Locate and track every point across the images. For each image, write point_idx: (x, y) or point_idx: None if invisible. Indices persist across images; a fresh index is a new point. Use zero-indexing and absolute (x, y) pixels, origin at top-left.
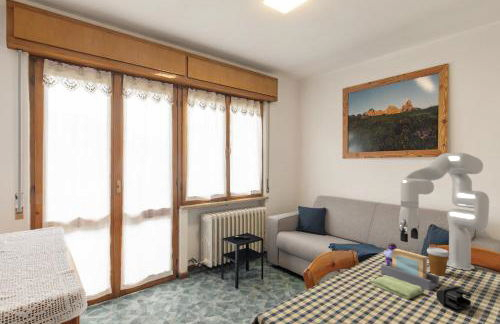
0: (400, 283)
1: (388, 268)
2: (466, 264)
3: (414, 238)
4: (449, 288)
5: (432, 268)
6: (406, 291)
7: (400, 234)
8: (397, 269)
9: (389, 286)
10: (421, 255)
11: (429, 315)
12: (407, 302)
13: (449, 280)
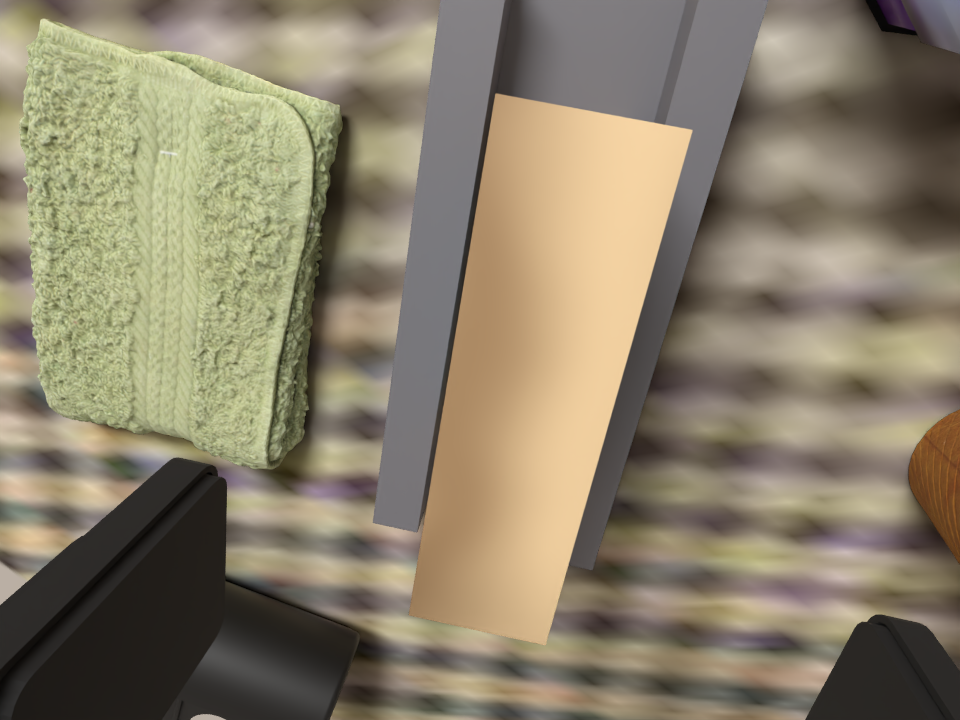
0: (184, 310)
1: (434, 74)
2: None
3: (816, 703)
4: (195, 699)
5: (956, 460)
6: (78, 392)
7: (14, 600)
8: (463, 193)
9: (36, 250)
10: (555, 582)
11: (6, 530)
12: (34, 400)
13: (811, 563)
